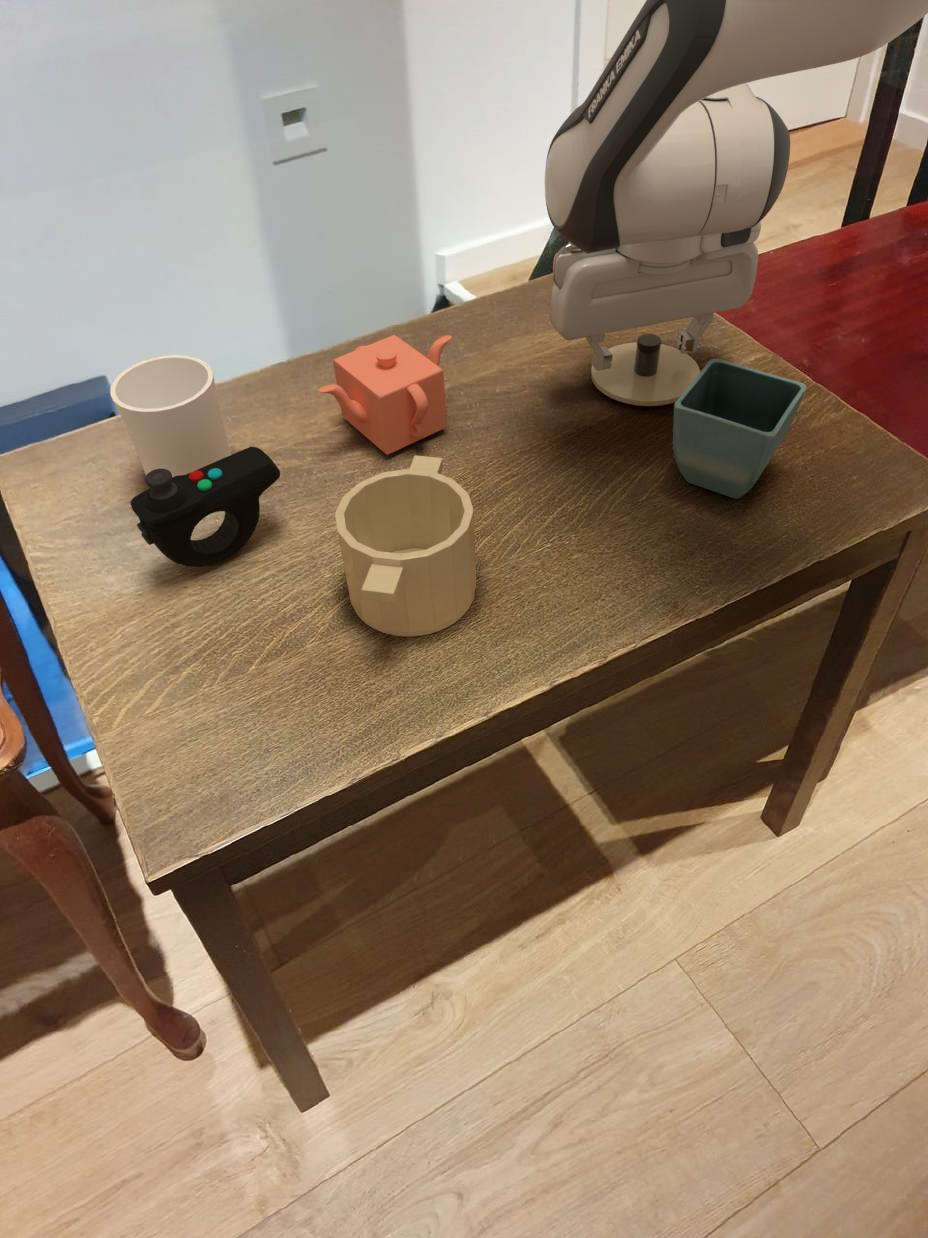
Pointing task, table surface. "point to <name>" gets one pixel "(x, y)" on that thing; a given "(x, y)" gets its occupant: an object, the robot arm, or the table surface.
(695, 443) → the flower pot
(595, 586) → the table surface
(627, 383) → the lid
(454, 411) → the table surface
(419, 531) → the pot
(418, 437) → the teapot
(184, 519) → the controller
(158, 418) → the mug
